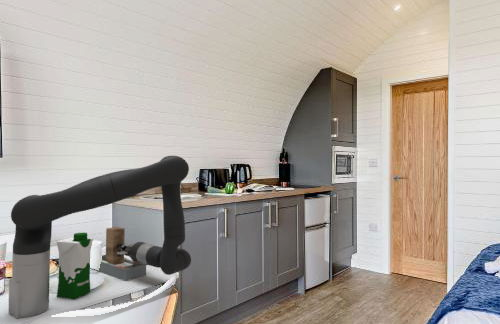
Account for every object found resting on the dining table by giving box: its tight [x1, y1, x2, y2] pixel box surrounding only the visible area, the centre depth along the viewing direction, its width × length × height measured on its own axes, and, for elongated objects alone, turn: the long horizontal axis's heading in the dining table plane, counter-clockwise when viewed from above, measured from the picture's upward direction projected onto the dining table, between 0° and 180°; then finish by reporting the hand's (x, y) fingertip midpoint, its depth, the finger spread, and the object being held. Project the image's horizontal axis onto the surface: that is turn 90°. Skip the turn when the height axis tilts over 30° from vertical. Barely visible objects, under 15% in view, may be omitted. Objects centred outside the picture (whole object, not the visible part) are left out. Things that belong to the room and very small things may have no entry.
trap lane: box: [98, 254, 147, 282], centre depth 140 cm, size 9×26×4 cm, turn 53°
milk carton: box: [56, 232, 94, 301], centre depth 114 cm, size 9×9×20 cm
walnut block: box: [105, 226, 126, 265], centre depth 141 cm, size 5×5×14 cm
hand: (118, 246), depth 139 cm, fingers closed
